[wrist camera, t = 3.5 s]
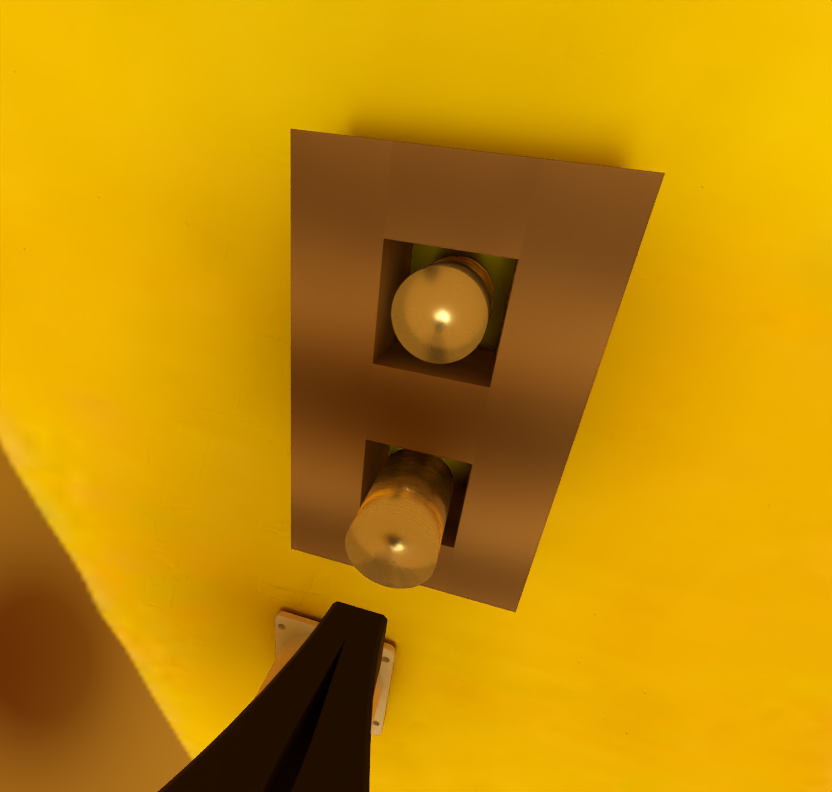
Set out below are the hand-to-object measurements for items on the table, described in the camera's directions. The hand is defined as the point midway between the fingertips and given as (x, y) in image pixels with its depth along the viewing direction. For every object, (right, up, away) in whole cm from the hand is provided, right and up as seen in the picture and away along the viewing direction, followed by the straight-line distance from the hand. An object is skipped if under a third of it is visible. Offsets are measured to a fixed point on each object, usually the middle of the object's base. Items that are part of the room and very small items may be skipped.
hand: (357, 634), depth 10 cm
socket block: (+3, +7, +7) cm, 10 cm away
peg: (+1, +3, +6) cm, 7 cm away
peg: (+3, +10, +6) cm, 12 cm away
